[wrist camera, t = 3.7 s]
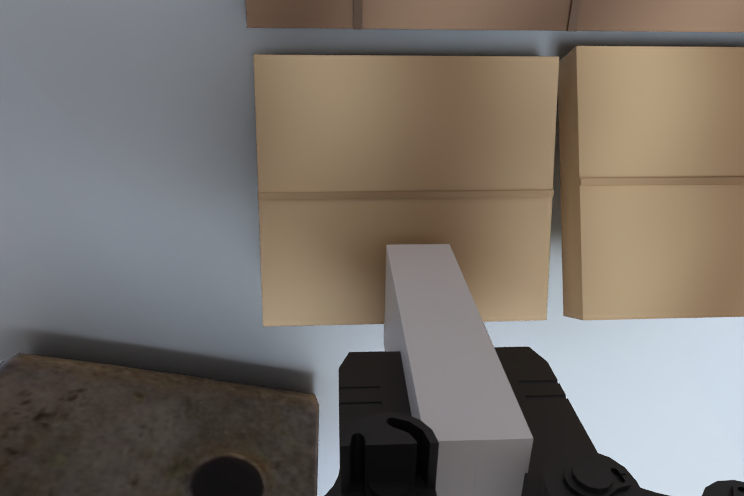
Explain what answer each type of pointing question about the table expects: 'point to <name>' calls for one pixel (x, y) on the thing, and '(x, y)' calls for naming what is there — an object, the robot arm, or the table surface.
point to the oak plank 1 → (402, 179)
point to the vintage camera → (149, 433)
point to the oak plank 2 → (652, 182)
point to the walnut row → (501, 15)
